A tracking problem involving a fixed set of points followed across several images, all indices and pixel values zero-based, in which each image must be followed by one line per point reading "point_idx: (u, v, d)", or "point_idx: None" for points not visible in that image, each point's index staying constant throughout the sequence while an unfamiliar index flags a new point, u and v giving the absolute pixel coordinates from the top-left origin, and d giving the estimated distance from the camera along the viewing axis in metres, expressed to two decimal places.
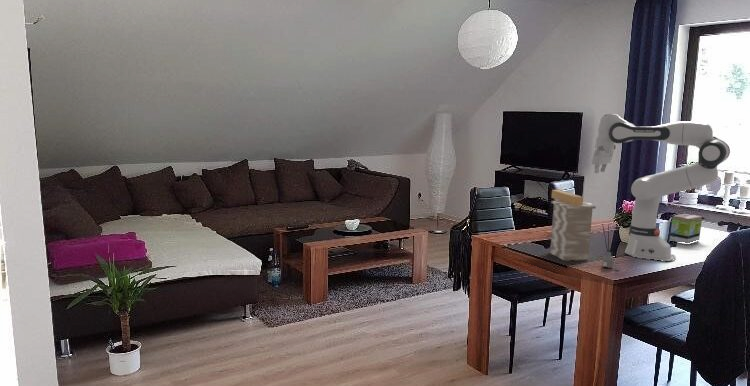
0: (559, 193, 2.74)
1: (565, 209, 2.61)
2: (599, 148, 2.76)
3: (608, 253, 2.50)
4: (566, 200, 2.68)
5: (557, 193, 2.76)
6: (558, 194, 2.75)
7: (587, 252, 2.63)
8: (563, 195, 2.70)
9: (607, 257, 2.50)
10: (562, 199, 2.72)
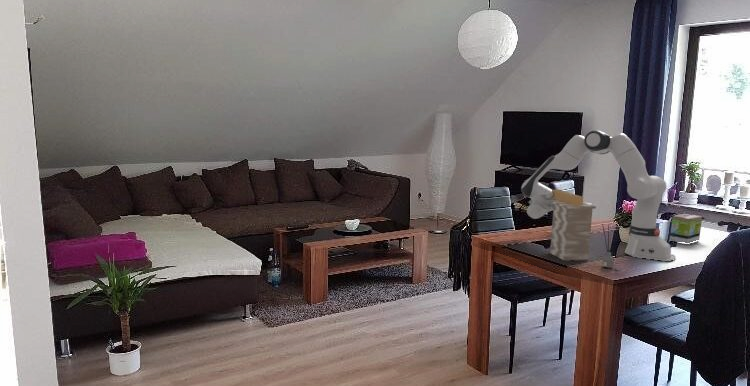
0: (559, 193, 2.74)
1: (565, 209, 2.61)
2: None
3: (608, 253, 2.50)
4: (566, 200, 2.68)
5: (557, 193, 2.76)
6: (558, 194, 2.75)
7: (587, 252, 2.63)
8: (563, 195, 2.70)
9: (607, 257, 2.50)
10: (562, 199, 2.72)
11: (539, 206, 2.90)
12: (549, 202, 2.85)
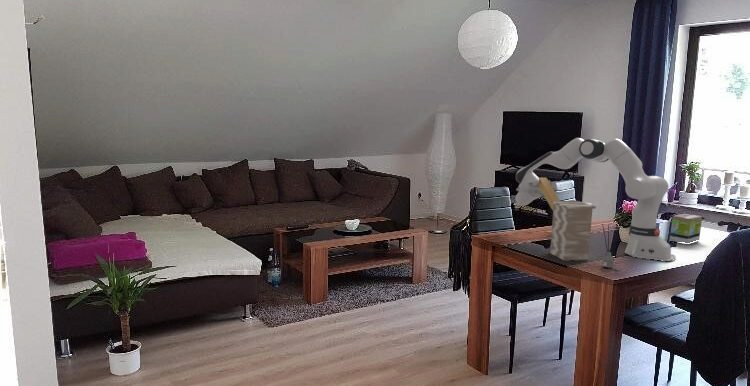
0: (544, 187, 2.89)
1: (565, 209, 2.61)
2: None
3: (608, 253, 2.50)
4: (548, 199, 2.85)
5: (542, 185, 2.90)
6: (543, 187, 2.89)
7: (587, 252, 2.63)
8: (547, 193, 2.86)
9: (607, 257, 2.50)
10: (545, 195, 2.88)
11: (526, 193, 3.04)
12: (536, 189, 2.99)
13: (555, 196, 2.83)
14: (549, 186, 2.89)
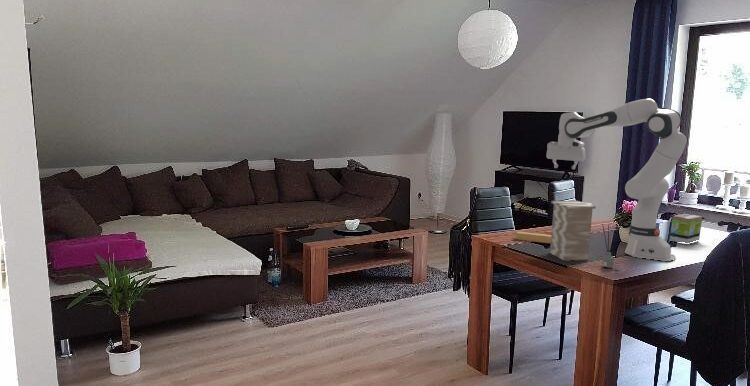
0: (530, 235, 2.99)
1: (565, 209, 2.61)
2: (550, 143, 3.02)
3: (608, 253, 2.50)
4: (543, 241, 2.97)
5: (527, 235, 3.00)
6: (529, 236, 3.00)
7: (587, 252, 2.63)
8: (538, 237, 2.98)
9: (607, 257, 2.50)
10: (536, 240, 2.98)
11: None
12: None
13: (546, 235, 2.98)
14: (531, 233, 3.02)
